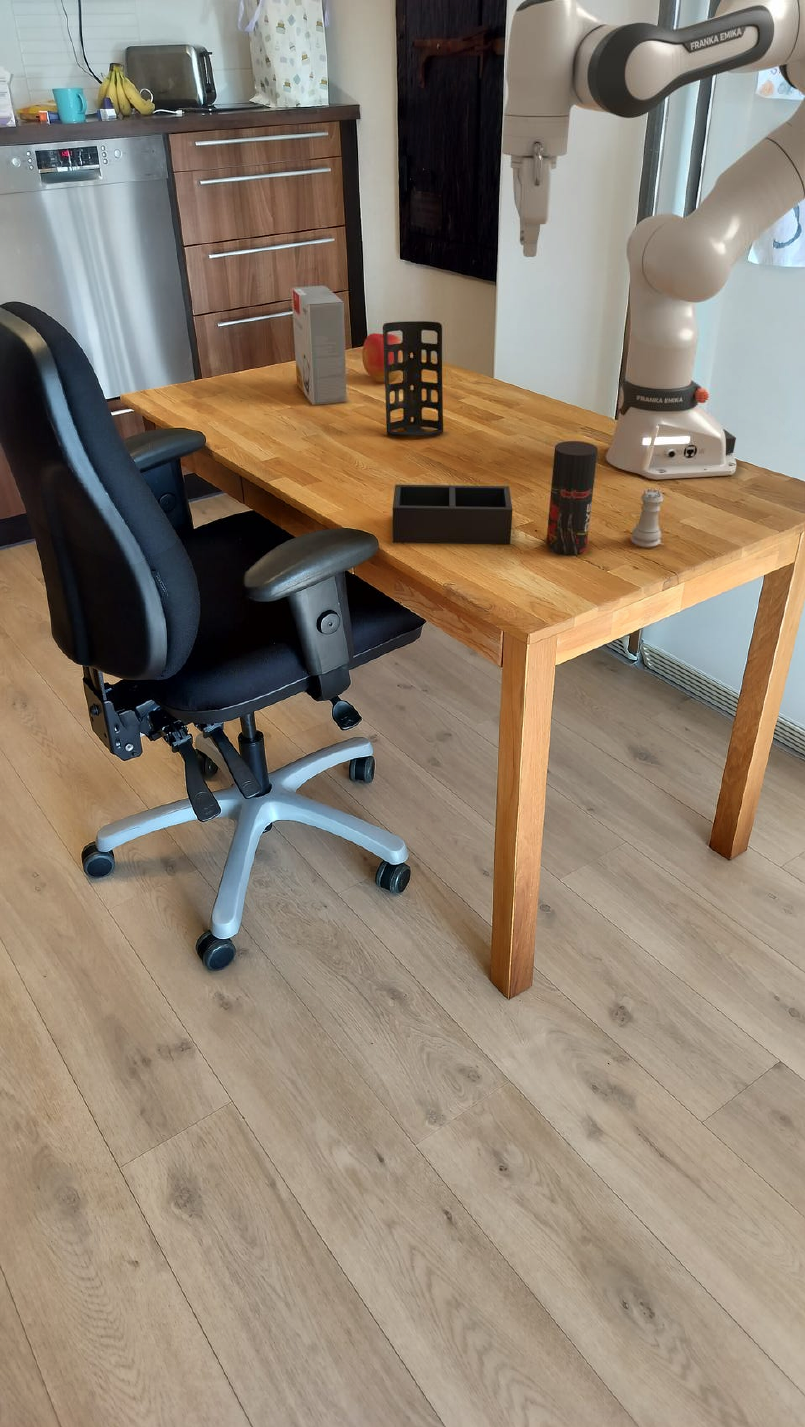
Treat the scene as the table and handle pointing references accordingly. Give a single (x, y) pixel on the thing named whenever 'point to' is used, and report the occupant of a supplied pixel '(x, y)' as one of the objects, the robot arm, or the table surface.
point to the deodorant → (571, 497)
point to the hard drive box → (319, 344)
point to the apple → (379, 356)
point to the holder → (413, 379)
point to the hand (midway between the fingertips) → (527, 250)
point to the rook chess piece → (648, 521)
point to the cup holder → (452, 514)
